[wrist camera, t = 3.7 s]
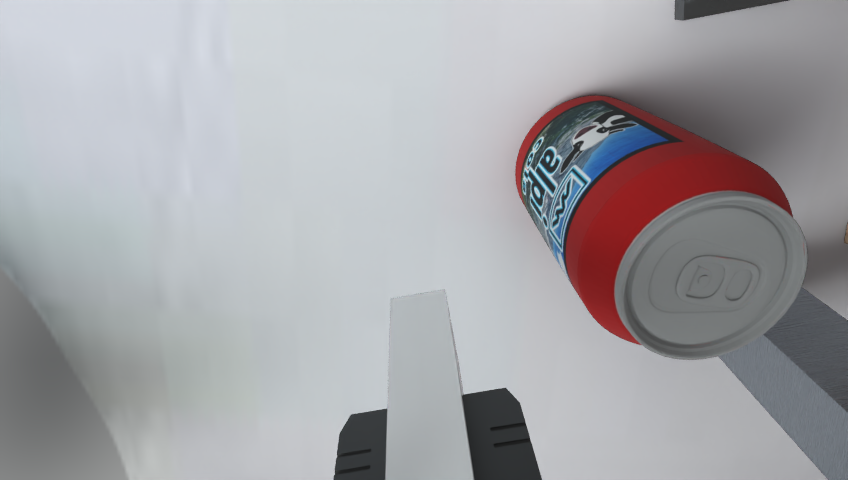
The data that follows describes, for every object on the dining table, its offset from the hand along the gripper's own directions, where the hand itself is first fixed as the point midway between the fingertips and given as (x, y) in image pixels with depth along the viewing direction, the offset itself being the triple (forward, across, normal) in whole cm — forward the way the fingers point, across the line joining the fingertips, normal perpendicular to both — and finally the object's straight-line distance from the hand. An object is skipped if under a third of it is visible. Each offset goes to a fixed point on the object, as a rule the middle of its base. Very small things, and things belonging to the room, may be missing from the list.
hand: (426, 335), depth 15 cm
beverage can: (+13, +8, 0) cm, 15 cm away
